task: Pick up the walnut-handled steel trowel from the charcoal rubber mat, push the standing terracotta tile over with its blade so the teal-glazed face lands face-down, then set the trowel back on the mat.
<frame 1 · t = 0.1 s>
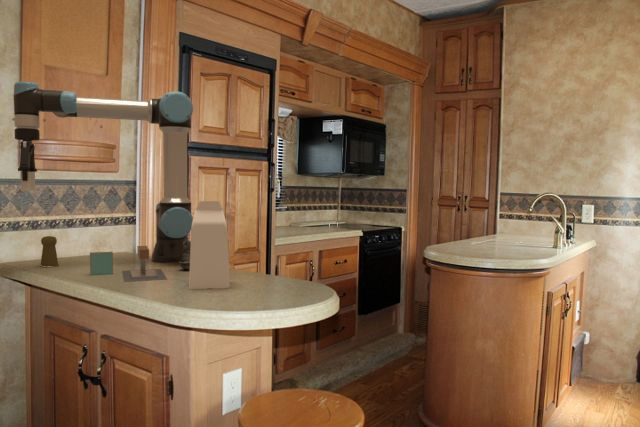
hand: (28, 190, 188), 28 cm above the counter, tool pointing down, fingers open, 13 cm apart
trowel: (143, 273, 183), point 1 cm above the counter, touching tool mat
tile: (101, 276, 182), on the counter
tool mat: (143, 276, 182), on the counter
milk: (209, 285, 169), on the counter
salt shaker: (187, 272, 193), on the counter
cork: (49, 266, 202), on the counter
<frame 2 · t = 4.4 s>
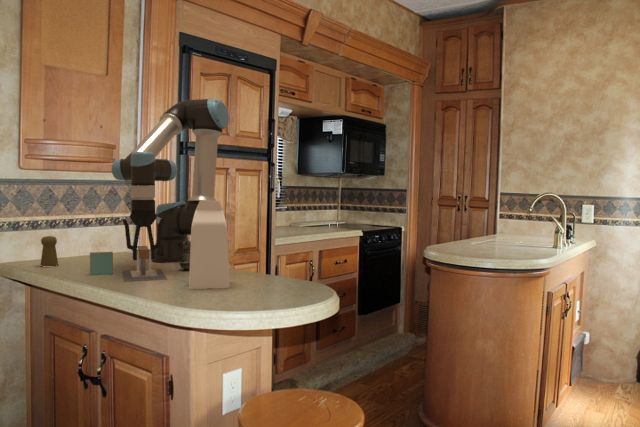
hand: (143, 269, 181), 2 cm above the counter, tool pointing down, fingers closed on trowel, 3 cm apart
trowel: (143, 273, 183), point 1 cm above the counter, touching gripper, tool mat
everything else where it was.
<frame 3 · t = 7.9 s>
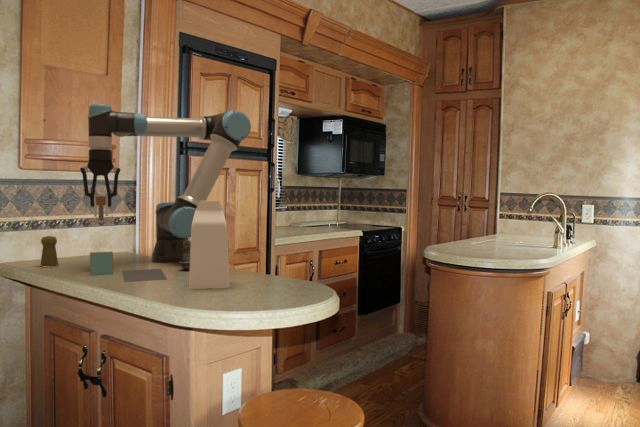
hand: (101, 216, 192), 19 cm above the counter, tool pointing down, fingers closed on trowel, 3 cm apart
trowel: (101, 220, 194), point 17 cm above the counter, touching gripper
everything else where it was.
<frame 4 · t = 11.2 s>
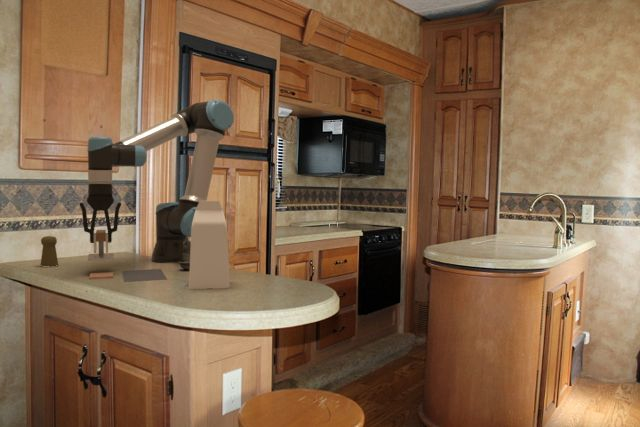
hand: (101, 252, 185), 7 cm above the counter, tool pointing down, fingers closed on trowel, 3 cm apart
trowel: (101, 256, 187), point 6 cm above the counter, touching gripper
tile: (101, 274, 181), on the counter, tilted 90°
everything else where it was.
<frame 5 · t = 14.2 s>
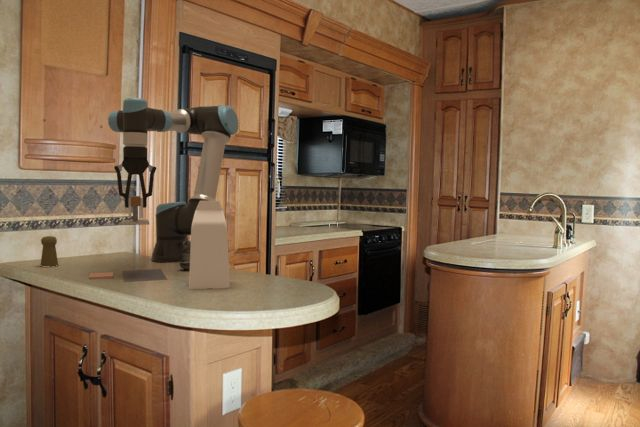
hand: (135, 217, 180), 20 cm above the counter, tool pointing down, fingers closed on trowel, 3 cm apart
trowel: (135, 222, 183), point 18 cm above the counter, touching gripper
everything else where it was.
when the fingers open (4 cm above the counter, at t = 16.7 s): trowel drops 2 cm, resting on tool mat.
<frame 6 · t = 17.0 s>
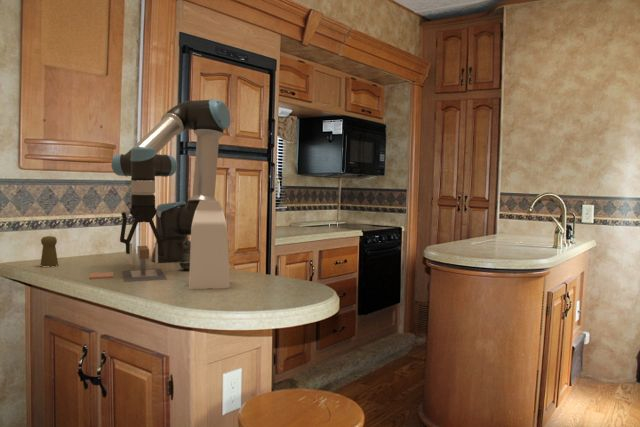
hand: (143, 263, 181), 5 cm above the counter, tool pointing down, fingers open, 7 cm apart
trowel: (143, 273, 183), point 1 cm above the counter, touching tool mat
everything else where it was.
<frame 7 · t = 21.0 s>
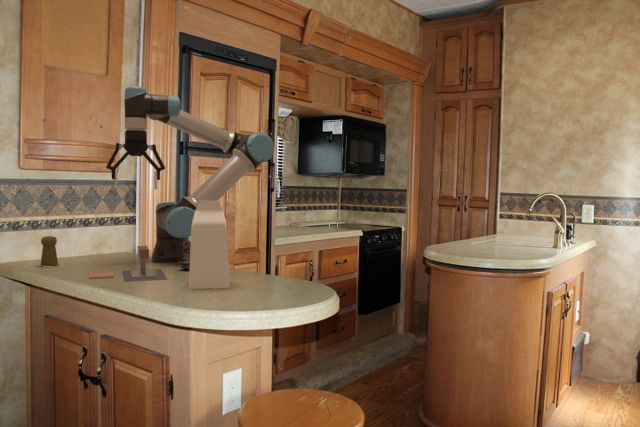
hand: (136, 189, 199), 29 cm above the counter, tool pointing down, fingers open, 13 cm apart
nothing on the counter moved.
at the end: tile tilted 90°; trowel inside the target area on the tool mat (1.9 cm from its centre), point 0.6 cm above the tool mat's base; the gripper is holding nothing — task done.
